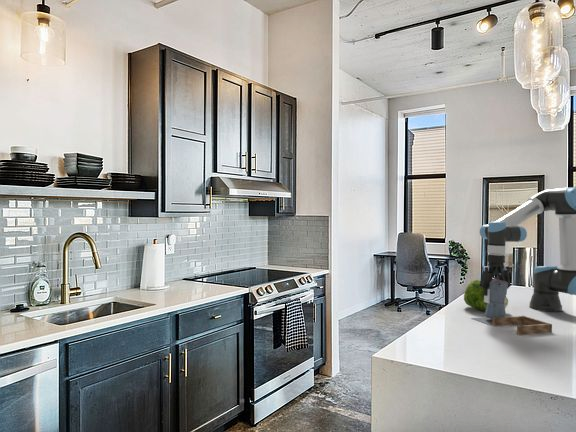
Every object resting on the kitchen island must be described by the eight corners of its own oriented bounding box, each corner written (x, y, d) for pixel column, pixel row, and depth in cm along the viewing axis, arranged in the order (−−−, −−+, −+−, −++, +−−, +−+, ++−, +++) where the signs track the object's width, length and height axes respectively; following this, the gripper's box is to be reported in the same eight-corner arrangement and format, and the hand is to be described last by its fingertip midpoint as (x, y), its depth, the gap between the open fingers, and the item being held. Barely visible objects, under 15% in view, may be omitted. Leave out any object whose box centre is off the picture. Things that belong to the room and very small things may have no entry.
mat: (498, 316, 210) (498, 316, 210) (518, 323, 198) (518, 322, 198) (470, 318, 205) (470, 318, 205) (490, 325, 193) (490, 325, 193)
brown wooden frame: (523, 323, 199) (523, 315, 199) (551, 332, 184) (552, 324, 184) (492, 325, 193) (492, 317, 193) (519, 335, 179) (519, 326, 179)
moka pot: (487, 320, 195) (490, 276, 195) (479, 312, 210) (481, 272, 210) (510, 322, 193) (512, 278, 193) (500, 314, 208) (502, 273, 208)
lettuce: (498, 321, 212) (510, 293, 210) (457, 302, 223) (468, 275, 222) (502, 319, 225) (514, 293, 224) (463, 301, 237) (474, 276, 235)
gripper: (508, 253, 208) (506, 299, 208) (471, 253, 202) (470, 301, 202) (520, 254, 201) (519, 302, 201) (483, 255, 194) (481, 304, 195)
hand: (494, 302), depth 202 cm, fingers closed on moka pot, 8 cm apart
